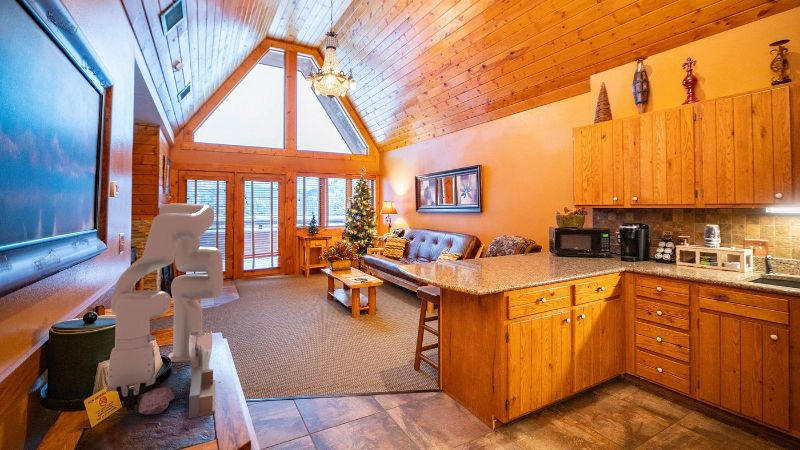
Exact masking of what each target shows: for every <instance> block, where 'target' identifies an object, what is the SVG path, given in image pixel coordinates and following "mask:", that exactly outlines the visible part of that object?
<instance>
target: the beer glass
mask: <svg viewBox="0 0 800 450" xmlns="http://www.w3.org/2000/svg"><path fill="white" fill-rule="evenodd" d="M212 331H213V330H212V329H211V330H210V329H202V330H197V331H193V332H191V333H190V338H189V355H190V360H191V361H190V364H191V366H190V367H191V368H190V375H189V379H190V380H191V381H192V375H193V368H194V367H201V366H202V371H204V370H211V369H210V362H211V361H210V360H211V356H212V350H213V332H212Z"/></svg>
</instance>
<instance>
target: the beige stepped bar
mask: <svg viewBox="0 0 800 450" xmlns="http://www.w3.org/2000/svg"><path fill="white" fill-rule="evenodd" d="M188 397H189V399H188V400H189V401H188V419H193V418H197V417H202V416H207V415H211V414H215V413H216V379H214V369H213V368H212V369H210V370H204V371H202V366H201V367H194V368H193V375H192V380H191V382H190V389H189V395H188Z"/></svg>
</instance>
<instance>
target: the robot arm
mask: <svg viewBox="0 0 800 450" xmlns="http://www.w3.org/2000/svg"><path fill="white" fill-rule="evenodd" d="M158 210H159V211H158V213H159V214H158V215H156V216H155V217H154V218H153V220H152V223H151V226H150V229H149V233H148V236H147V239H146V242H145V247H144V249H143V250H144V251H143V253H142V256H141V257H140V258H138V259H137V260H136V261H134V262H132V264H131V265H130V266H128V268H126V270H124V272H123V273H122V274H121V275H120V276H119V278H118V279H117V281H116V284H115V288H114V290H113V293H112V296H111V301H110V310H111V313H112V314H113V315H115V329H114V331H115V336H114V347H113V348H111V349H112V350H111V352H110V357H109V362H108V369H107V381H106V382H107V386H106V391H107V392H118V393H119V394H120V395H122V397H123V399H124V400H123V407H124V408H126V412H129V411H134V410H135V409H136V406H137V405H139V403H140V402H139V401H140V398H139V397H140V396H139V393H140V392H141V391H142V390H143V389H144V388H145V387H149V386H151V385H154V384H155V383H156V378H155V373H156V358H155V357H156V355H155V349H154V345H153V342H152V341H156V336H157V335H153V334H151V332H150V329H151V328H150V324H151V322H150V321H151V320H150V319H152V318H157V317H160V316H162V315H164V314H165V313H167V312H168V310H170V307H171V305H172V304H173V326H172V327H173V329H172V330H173V333H172V334H173V335H172V336H173V338H172V340H173V341H172V342H173V343H172V352H170V353H169V354H168V356H167V358H168V357H169V358H170V359H171V361H170V362H172V363H186V362H187V363H188V362H191V360H190V355H189V338H190V333H191V332H193V331H197V330H203V307H202V305H201V304H200V303H199V301H198V300H216V299H218V298H220V297H221V296H222V294H223V290H224V271H223V270H224V267H223V264H224V263H223V262H224V261H223V260H224V259H223V255H222V252H221V250H220V249H219V248H217V247H213V246H212V247H210V246H209V247H208V246H207V247H205V246H202V244H201V237H202V236H203V235H204V234H205V233H206V232H207V231H208V230H209V229H210V228H211V226H212V225H213V223H214V222H215V221H214V220H215V211H214V209H213V207H212V206H210V205H208V204H202V203H201V204H199V203H179V202H178V203H175V202H174V203H173V202H171V203H166V204H162V205H161V206H160V207H159V209H158ZM173 263H175V268H176V269H177V270H178V271H179V272H183V273H195V274H182V275H179V276H176V277H175V278H173V280H172V281H171V285H170V291H171V295H170V294H169V293H168V292H167V291H163V290H133V289H134V287H135V284H137V282H138V281H139V280H141V279H142V278H143V277H144V276H146V275H148V274H150V273H153V272H155V271H157V270H159V269H160V270H161V269H162V268H165V267H167V266H170V265H172V264H173ZM196 273H206V274H196ZM171 296H172V298H171ZM131 385H134V387H133V390H131V387H130V386H131Z"/></svg>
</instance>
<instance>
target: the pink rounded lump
mask: <svg viewBox="0 0 800 450" xmlns="http://www.w3.org/2000/svg"><path fill="white" fill-rule="evenodd" d="M173 400H175V394H174V392H173V390H172V389H171V387H159V388H155V389H152V390H151V391H146V392H144V393H143V394H142V395H141V397H140V398H139V402H138V405H139V406H138V413H140V414H142V415H157V414H162V412H163V411H164V410H166V409H167V408H168V407H169V403H170V402H171V401H173Z"/></svg>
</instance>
